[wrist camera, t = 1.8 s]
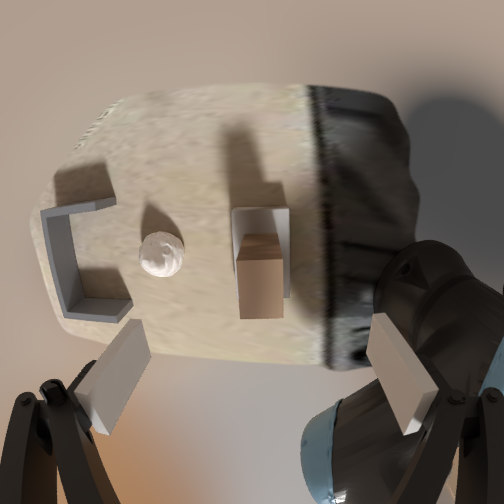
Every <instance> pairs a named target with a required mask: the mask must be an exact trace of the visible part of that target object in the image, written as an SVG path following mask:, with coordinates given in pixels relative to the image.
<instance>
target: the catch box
mask: <svg viewBox="0 0 504 504" xmlns="http://www.w3.org/2000/svg"><path fill="white" fill-rule="evenodd" d="M113 205H116V197H111V198H104V199H97V200H90V201H83V202H77V203H71V204H65V205H60V206H57V207H53V208H49V209H45V210H42V211H40V213H41V220H42V227H43V233H44V239H45V244H46V249H47V254H48V259H49V264H50V268H51V272H52V277H53V281H54V285H55V288H56V292H57V296H58V299H59V303H60V306H61V309H62V312H63V316H64V318H69V319H77V320H86V321H96V322H107V323H119V322H120V320H121V319H122V318H123V317H124V316H125V315H126V314H127V313H128V311H129V310H130V309H131V308H132V307H133V302H132V299H107V298H86V297H85V295H84V291H83V287H82V283H81V279H80V275H79V270H78V266H77V261H76V256H75V251H74V245H73V240H72V234H71V227H70V220H69V214H75V213H82V212H89V211H96V210H100V209H103V208H106V207H110V206H113Z"/></svg>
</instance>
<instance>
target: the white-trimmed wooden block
mask: <svg viewBox="0 0 504 504" xmlns="http://www.w3.org/2000/svg"><path fill="white" fill-rule="evenodd" d="M231 219H232V235H233V250H234V264H235V278H236V292H237V299H239V309H240V319H269V318H283V298H290V229H289V208H288V207H287V206H258V207H235V208H233V209H232V211H231Z"/></svg>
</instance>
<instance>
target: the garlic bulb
mask: <svg viewBox="0 0 504 504" xmlns="http://www.w3.org/2000/svg"><path fill="white" fill-rule="evenodd" d="M183 258H184V247H183V245H182V242H181V241H180V239H179V238H177V237H175V236H174V235H172V234H170V233H167V232H161V231H158V232H155V233H151V234H149V235H148V236H146V238H145V239H144V241H143V244H142V245H141V246H140V248H139V261H140V264H141V266H142V267H143V268H144V269H145V270H146V271H147V272H149V273H150V274H152V275H154V276H159V277H168V276H171V275H173V274H174V273H175V272H176V271H178V270H179V268H180V267H181V265H182V262H183Z"/></svg>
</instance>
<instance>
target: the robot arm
mask: <svg viewBox="0 0 504 504" xmlns="http://www.w3.org/2000/svg"><path fill="white" fill-rule="evenodd" d="M374 313H375V314H373V317H372V323H371V329H370V335H369V341H368V346H367V351H366V354H367V356H368V358H369V360H370V362H371V364H372V367H373V369H374V371H375V373H376V375H377V377H378V378H377V379H376V380H374V381H372V382H371V383H369V384H368V385H366V386H365V387H363V388H361V389H360V390H358V391H357V392H355V393H353V394H352V395H350V396H348V397H346V398H345V399H340V400H339V401H337V402H336V403H335V405H334V406H332V407H330V408H328V409H327V410H325V411H323V412H322V413H320V414H318V415H316V416H315V417H313V418H312V419H311V420H310V421H309V423H308V424H307V425H306V427H305V429H304V432H303V435H302V439H301V452H300V455H301V466H302V471H303V475H304V478H305V481H306V485H307V487H308V489H309V492H310V493H311V495H312V497H313V498H314V500H315V501H316V502H317V503H318V504H504V296H503V295H502V294H500V293H499V292H497V291H496V290H494V289H493V288H491V287H489V286H488V285H486V284H485V283H483V282H481V281H480V280H478V279H477V278H475V277H474V275H473V273H472V272H471V270H470V269H469V267H468V266H467V265H466V263H465V262H464V260H463V258H462V257H461V255H460V254H459V253H458V252H457V251H455V250H454V249H453V248H451V247H449V246H448V245H445V244H443V243H441V242H438V241H434V240H424V241H420V242H416V243H414V244H412V245H410V246H408V247H406V248H405V249H403V250H402V251H401V252H399V253H398V254H397V255H396V256H395V257H394V258H393V259H392V260H391V261H390V263H389V264H388V265H387V267H386V268H385V270H384V271H383V273H382V275H381V277H380V279H379V282H378V284H377V287H376V291H375V296H374ZM150 359H151V354H150V350H149V347H148V343H147V339H146V335H145V332H144V328H143V324H142V320H140V319H130V320H129V321H128V322H127V324H126V325H125V326H124V327H123V328H122V330H121V331H120V332H119V333H118V335H117V336H116V337H115V338H114V340H113V341H112V342H111V343H110V345H109V346H108V347H107V349H106V350H105V351H104V353H103V354H102V355H101V356H100V357H99V359H98V360H92V361H91V362H89V363H88V364H87V365H85V367H84V368H83V369H82V370H81V372H80V373H79V374H78V377H76V378H75V379H74V381H73V382H72V383H71V385H70V386H69V387H68V389H67V390H66V389H65V387H64V385H63V383H62V381H60V380H58V379H51V380H48V381H46V382H44V383H43V384H42V385H41V387H40V390H39V391H40V393H41V395H42V397H43V398H44V400H37V398H36V397H35V395H34V394H33V393H31V392H24V393H22V394H20V395H19V396H18V397H17V398H16V400H15V403H14V407H13V410H12V414H11V417H10V421H9V425H8V429H7V433H6V437H5V442H4V447H3V452H2V457H1V463H0V504H57V466H58V471H59V474H60V478H61V482H62V485H63V489H64V492H65V496H66V499H67V502H68V504H121V503H120V501H119V499H118V498H117V495H116V493H115V491H114V489H113V487H112V485H111V483H110V480H109V478H108V476H107V473H106V471H105V468H104V466H103V463H102V461H101V458H100V456H99V453H98V450H97V447H96V445H95V442H94V439H93V436H92V433H91V432H90V430H89V429H90V427H91V426H92V425H93V426H94V428H95V430H96V431H97V432H99V433H102V434H106V435H110V434H111V432H112V430H113V429H114V427H115V425H116V423H117V421H118V419H119V417H120V415H121V413H122V411H123V409H124V407H125V405H126V404H127V402H128V400H129V398H130V396H131V394H132V392H133V390H134V388H135V387H136V385H137V383H138V381H139V379H140V377H141V375H142V373H143V372H144V370H145V368H146V366H147V365H148V363H149V361H150ZM457 447H459V465H458V479H457V489H456V498H455V497H454V495H453V493H452V491H451V489H450V487H449V485H448V483H447V481H448V479H449V477H450V475H451V473H452V471H453V468H454V462H453V459H454V455H455V452H456V449H457Z"/></svg>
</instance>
